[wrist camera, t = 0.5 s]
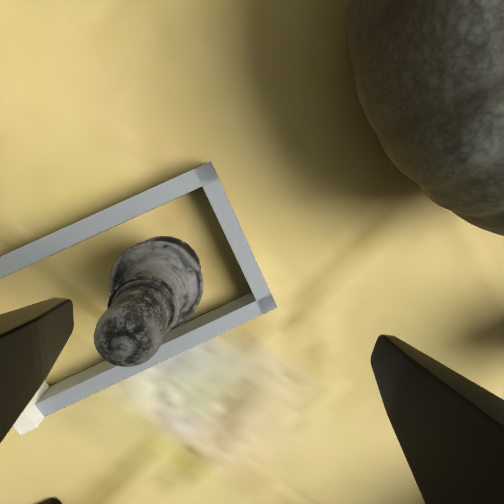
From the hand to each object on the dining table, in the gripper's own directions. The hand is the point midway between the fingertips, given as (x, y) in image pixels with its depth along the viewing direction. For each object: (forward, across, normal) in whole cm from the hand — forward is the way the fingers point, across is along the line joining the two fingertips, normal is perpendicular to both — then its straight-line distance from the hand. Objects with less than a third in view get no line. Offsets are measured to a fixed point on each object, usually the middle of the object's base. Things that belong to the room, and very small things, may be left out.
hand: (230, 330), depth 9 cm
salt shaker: (+14, +5, +5) cm, 15 cm away
